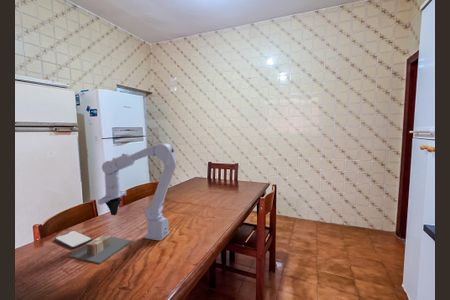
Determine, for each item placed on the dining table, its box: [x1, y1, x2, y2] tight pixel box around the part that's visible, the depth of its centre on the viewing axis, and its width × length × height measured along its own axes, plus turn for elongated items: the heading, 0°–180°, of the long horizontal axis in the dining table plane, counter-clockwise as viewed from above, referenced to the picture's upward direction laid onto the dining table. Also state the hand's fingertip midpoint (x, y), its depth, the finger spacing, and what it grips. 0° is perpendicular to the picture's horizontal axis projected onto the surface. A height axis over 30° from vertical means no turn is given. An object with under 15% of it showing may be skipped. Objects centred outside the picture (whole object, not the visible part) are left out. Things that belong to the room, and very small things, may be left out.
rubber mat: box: [68, 236, 133, 265], centre depth 91 cm, size 16×17×1 cm
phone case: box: [54, 230, 93, 250], centre depth 98 cm, size 9×2×16 cm
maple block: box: [85, 234, 111, 255], centre depth 90 cm, size 4×4×8 cm
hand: (114, 214), depth 101 cm, fingers closed
